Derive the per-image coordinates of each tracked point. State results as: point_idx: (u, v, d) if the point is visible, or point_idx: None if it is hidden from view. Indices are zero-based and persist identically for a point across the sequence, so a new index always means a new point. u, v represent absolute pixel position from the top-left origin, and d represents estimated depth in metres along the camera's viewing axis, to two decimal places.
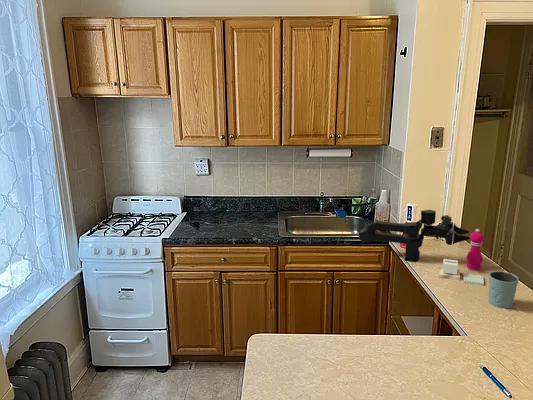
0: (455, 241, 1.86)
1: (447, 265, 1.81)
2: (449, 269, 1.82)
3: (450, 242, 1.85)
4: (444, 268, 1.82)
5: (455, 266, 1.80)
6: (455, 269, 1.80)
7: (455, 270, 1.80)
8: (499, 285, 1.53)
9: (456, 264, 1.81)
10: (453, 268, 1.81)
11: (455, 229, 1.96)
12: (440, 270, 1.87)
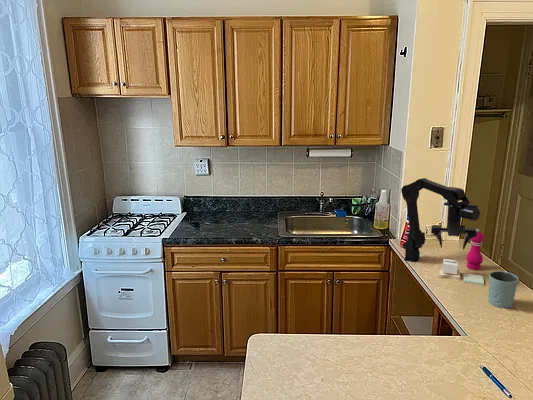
0: None
1: (447, 265, 1.81)
2: (449, 269, 1.82)
3: None
4: (444, 268, 1.82)
5: (455, 266, 1.80)
6: (455, 269, 1.80)
7: (455, 270, 1.80)
8: (499, 285, 1.53)
9: (456, 264, 1.81)
10: (453, 268, 1.81)
11: (465, 237, 1.78)
12: (440, 270, 1.87)
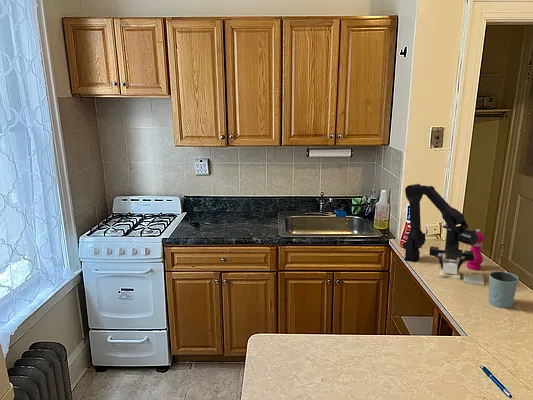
0: None
1: (447, 265, 1.81)
2: (449, 269, 1.82)
3: None
4: (444, 268, 1.82)
5: (455, 266, 1.80)
6: (455, 269, 1.80)
7: (455, 270, 1.80)
8: (499, 285, 1.53)
9: (456, 264, 1.81)
10: (453, 268, 1.81)
11: (459, 259, 1.81)
12: (440, 270, 1.87)
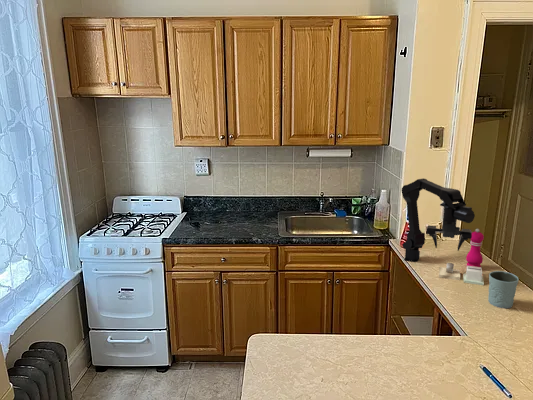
0: None
1: (471, 272, 1.76)
2: (473, 276, 1.76)
3: None
4: (468, 275, 1.77)
5: (479, 273, 1.74)
6: (479, 276, 1.75)
7: (479, 277, 1.75)
8: (499, 285, 1.53)
9: (480, 271, 1.75)
10: (477, 275, 1.75)
11: (460, 238, 1.78)
12: (440, 270, 1.87)
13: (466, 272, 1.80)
